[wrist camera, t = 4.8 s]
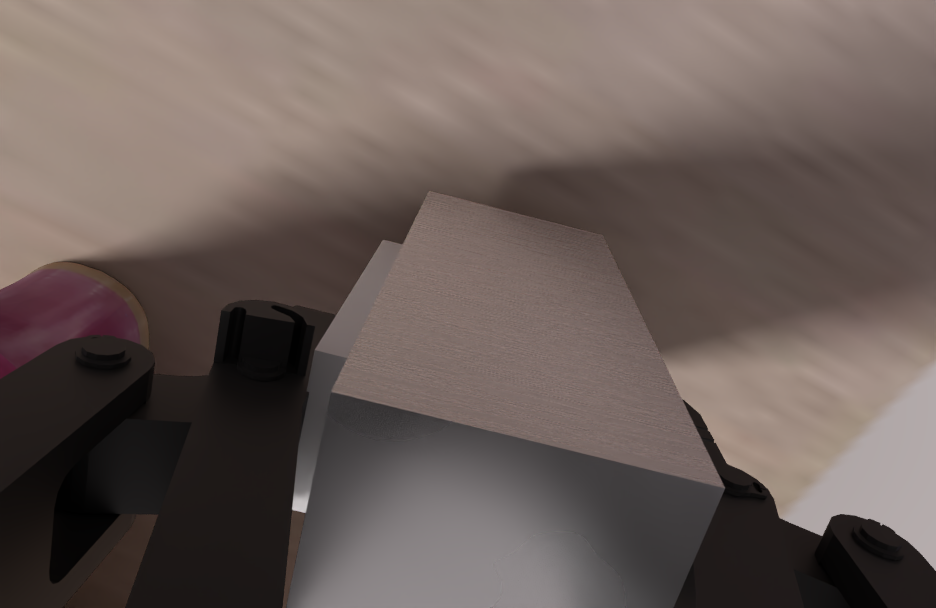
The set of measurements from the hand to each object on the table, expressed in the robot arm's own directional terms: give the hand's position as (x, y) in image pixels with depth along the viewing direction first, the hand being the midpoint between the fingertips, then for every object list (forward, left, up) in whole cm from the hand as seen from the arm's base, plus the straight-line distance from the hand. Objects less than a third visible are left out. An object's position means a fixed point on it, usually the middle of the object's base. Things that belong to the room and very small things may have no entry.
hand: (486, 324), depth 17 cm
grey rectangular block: (-1, 0, 0) cm, 1 cm away
